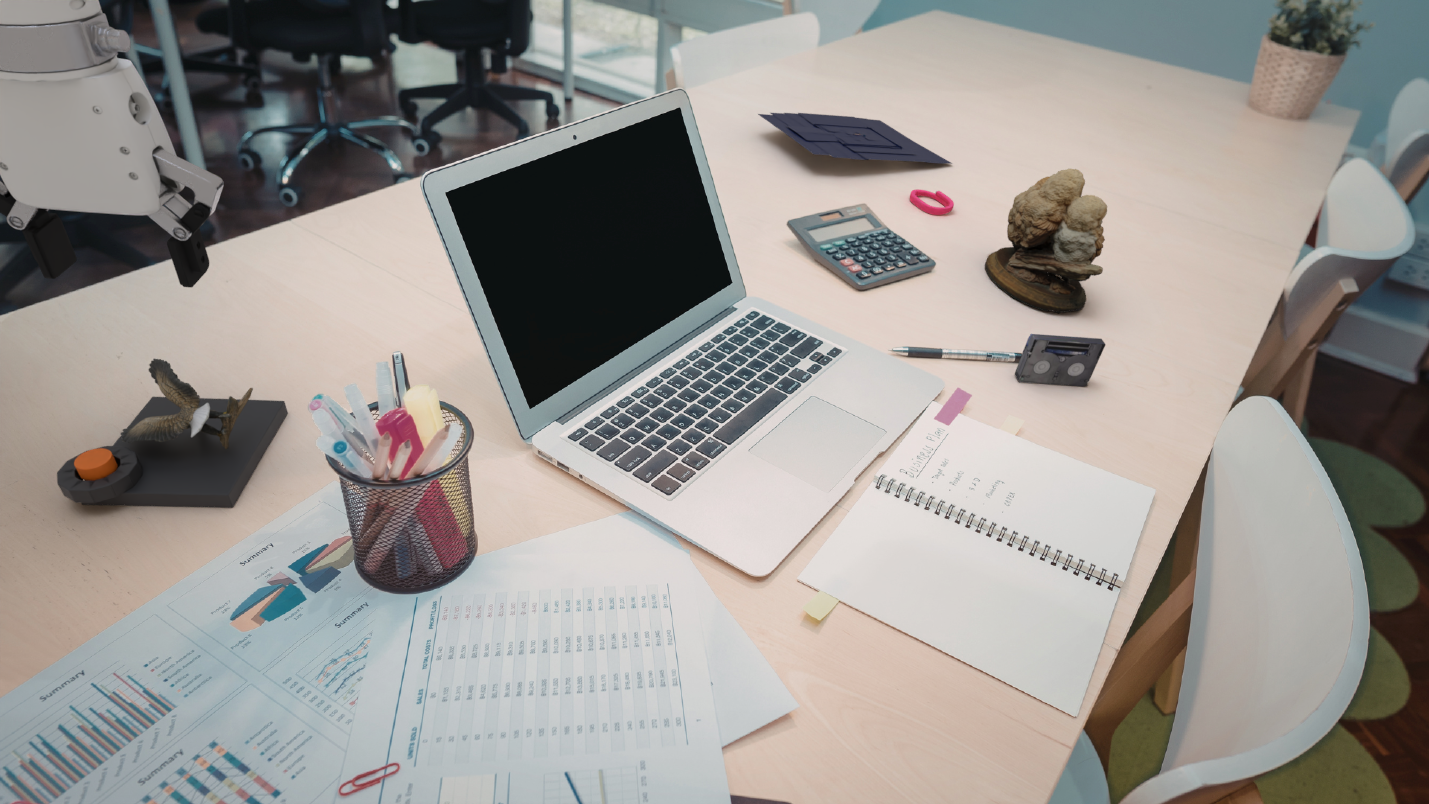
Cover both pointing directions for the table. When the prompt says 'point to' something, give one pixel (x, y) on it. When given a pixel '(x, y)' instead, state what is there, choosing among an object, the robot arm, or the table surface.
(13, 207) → the robot arm
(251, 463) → the scale
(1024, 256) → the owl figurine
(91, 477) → the button
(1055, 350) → the mini dv tape
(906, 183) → the table surface
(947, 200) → the fitness band
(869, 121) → the navy patterned tile
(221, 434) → the eagle figurine
